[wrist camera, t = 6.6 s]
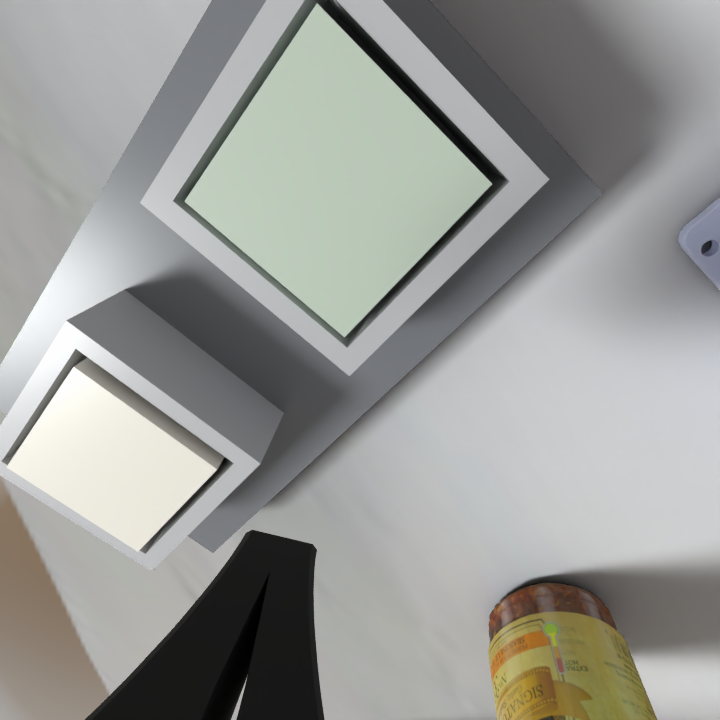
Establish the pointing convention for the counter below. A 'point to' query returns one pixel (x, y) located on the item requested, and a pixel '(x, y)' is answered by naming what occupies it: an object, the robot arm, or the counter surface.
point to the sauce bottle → (561, 659)
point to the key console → (254, 284)
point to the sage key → (335, 177)
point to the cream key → (113, 456)
